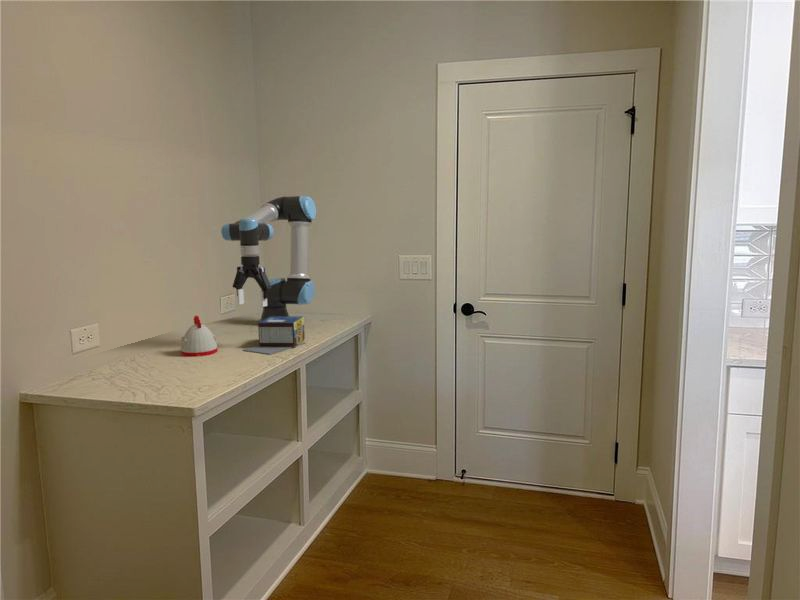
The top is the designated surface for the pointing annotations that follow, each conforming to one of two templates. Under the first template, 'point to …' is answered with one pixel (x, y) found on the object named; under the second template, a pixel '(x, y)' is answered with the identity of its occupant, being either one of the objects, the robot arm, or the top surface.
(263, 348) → the slate rubber mat
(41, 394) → the top surface
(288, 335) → the protein box
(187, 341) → the kitchen timer
